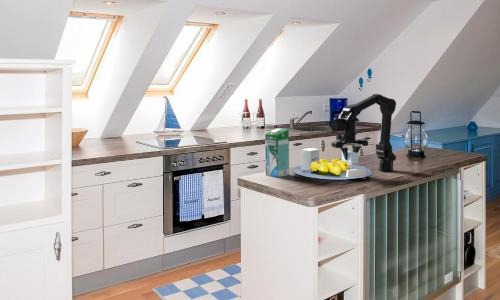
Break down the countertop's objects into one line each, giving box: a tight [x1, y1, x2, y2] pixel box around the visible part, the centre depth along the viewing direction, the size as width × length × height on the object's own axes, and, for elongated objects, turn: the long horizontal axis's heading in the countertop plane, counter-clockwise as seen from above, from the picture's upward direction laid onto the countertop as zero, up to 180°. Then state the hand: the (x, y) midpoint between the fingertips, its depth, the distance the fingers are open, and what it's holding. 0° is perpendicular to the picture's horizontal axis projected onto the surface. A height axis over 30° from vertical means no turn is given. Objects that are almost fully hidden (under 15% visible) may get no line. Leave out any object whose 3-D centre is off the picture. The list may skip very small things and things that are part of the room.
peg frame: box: [344, 163, 366, 180], centre depth 255 cm, size 15×10×5 cm, turn 17°
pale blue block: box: [341, 149, 359, 165], centre depth 253 cm, size 10×4×5 cm, turn 18°
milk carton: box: [264, 127, 290, 178], centre depth 260 cm, size 9×9×25 cm
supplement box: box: [300, 147, 320, 170], centre depth 268 cm, size 7×7×13 cm
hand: (349, 159), depth 253 cm, fingers closed on pale blue block, 4 cm apart
